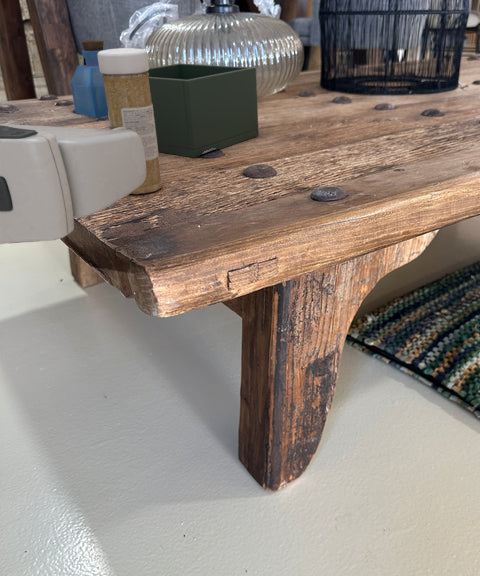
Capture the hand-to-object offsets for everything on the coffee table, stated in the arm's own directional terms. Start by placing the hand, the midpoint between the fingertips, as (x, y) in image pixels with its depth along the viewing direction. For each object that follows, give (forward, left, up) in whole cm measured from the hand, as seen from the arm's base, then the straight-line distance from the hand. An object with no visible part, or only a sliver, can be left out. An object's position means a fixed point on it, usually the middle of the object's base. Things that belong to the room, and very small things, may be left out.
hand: (71, 133), depth 48 cm
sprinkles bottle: (-2, +9, -8) cm, 12 cm away
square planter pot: (-12, +28, -8) cm, 32 cm away
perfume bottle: (-31, +30, -8) cm, 44 cm away
